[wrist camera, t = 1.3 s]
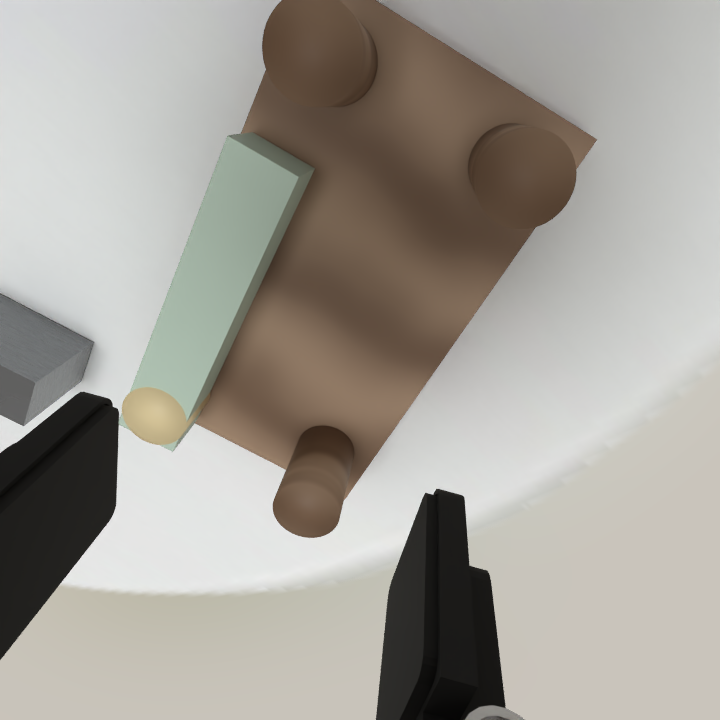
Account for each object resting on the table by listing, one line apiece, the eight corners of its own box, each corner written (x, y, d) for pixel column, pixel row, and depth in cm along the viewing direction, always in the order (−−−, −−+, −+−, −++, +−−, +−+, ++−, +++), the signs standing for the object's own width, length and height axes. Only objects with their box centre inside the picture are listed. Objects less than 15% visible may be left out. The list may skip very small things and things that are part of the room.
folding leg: (198, 421, 29) (173, 455, 27) (145, 394, 29) (114, 425, 26) (317, 169, 23) (300, 178, 20) (250, 130, 23) (224, 134, 20)
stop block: (-5, 291, 30) (-82, 323, 26) (93, 342, 31) (35, 382, 26) (-14, 333, 31) (-88, 371, 27) (81, 381, 32) (23, 426, 28)
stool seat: (319, -29, 22) (273, -84, 15) (584, 137, 23) (640, 148, 17) (156, 377, 31) (85, 446, 25) (349, 478, 33) (329, 566, 26)
